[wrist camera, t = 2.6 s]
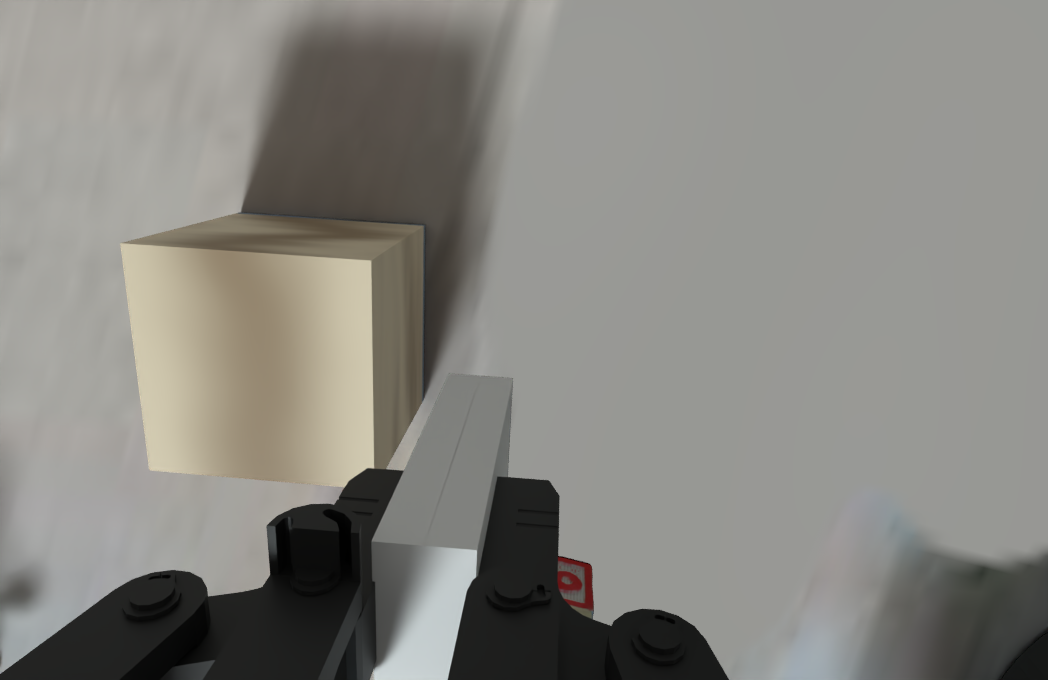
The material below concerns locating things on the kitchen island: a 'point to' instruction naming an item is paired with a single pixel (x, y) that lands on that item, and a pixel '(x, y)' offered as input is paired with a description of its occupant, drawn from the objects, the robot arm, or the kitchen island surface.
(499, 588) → the robot arm
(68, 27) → the kitchen island surface
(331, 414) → the beech cube
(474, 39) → the kitchen island surface
